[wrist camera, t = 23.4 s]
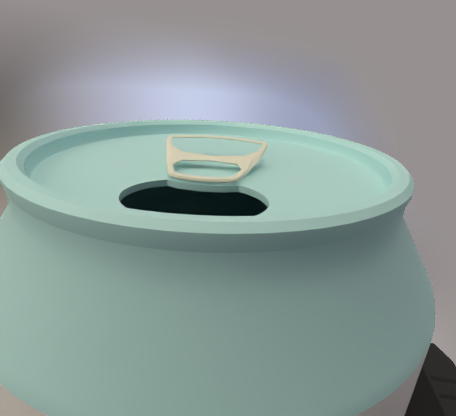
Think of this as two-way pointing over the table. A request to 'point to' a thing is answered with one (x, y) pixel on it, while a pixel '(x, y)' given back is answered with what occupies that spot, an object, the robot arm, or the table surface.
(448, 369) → the robot arm
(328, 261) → the can
